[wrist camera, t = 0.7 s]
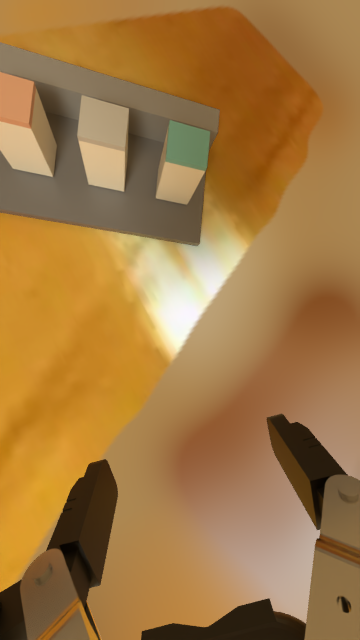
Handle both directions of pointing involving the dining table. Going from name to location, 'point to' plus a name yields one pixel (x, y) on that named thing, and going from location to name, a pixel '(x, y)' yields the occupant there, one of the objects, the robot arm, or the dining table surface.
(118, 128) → the beige tall block
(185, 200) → the beige and green block
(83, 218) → the grey base
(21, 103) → the beige and orange block
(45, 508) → the dining table surface
